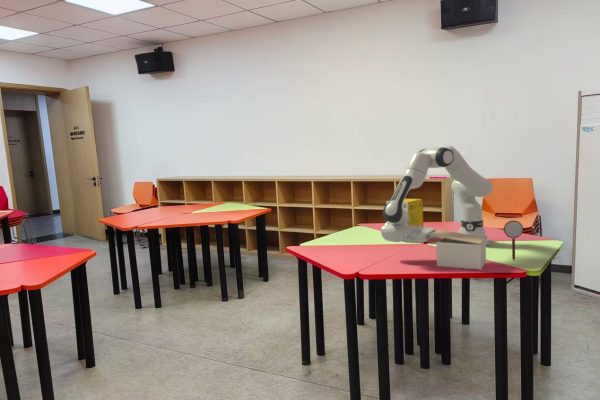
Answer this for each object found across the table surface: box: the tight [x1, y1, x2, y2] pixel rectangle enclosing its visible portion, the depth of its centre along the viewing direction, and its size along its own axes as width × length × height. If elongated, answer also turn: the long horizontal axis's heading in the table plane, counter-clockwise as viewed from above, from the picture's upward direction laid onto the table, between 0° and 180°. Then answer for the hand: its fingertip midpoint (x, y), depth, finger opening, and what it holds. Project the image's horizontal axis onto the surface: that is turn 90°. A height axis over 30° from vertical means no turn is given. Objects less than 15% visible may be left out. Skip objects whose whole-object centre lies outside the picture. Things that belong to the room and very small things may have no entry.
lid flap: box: [431, 229, 486, 245], centre depth 214 cm, size 14×22×1 cm, turn 57°
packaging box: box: [385, 198, 424, 227], centre depth 284 cm, size 16×16×25 cm
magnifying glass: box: [503, 220, 524, 262], centre depth 215 cm, size 9×2×20 cm, turn 77°
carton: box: [435, 238, 487, 271], centre depth 214 cm, size 13×20×12 cm, turn 57°
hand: (439, 235), depth 219 cm, fingers closed, pressing on lid flap
